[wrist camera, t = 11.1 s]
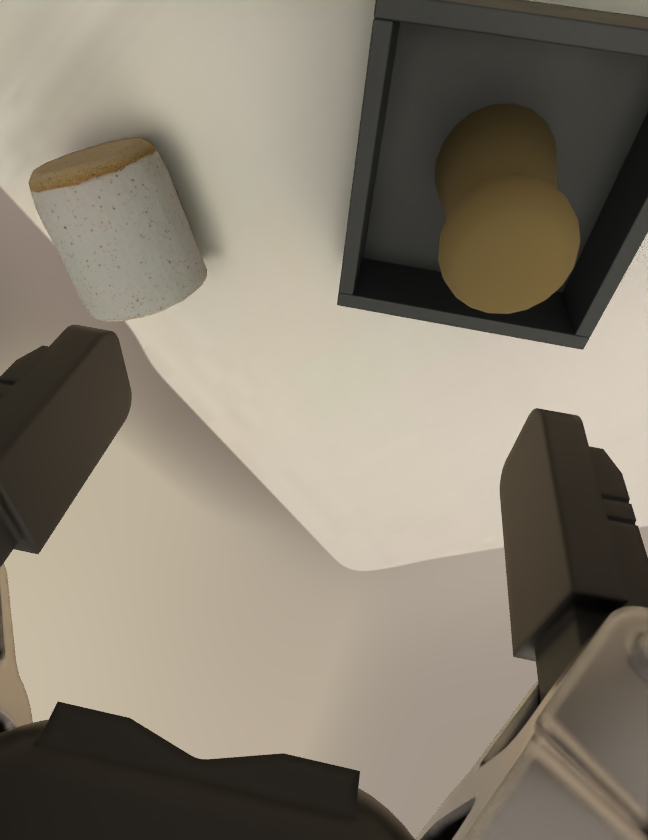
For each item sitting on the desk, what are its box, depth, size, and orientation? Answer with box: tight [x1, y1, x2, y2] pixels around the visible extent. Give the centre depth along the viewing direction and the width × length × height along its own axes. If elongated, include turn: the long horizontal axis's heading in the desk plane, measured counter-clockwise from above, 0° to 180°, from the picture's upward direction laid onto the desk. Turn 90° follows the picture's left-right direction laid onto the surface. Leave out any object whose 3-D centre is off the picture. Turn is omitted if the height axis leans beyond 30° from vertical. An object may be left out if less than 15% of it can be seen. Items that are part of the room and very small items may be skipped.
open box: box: [337, 0, 648, 349], centre depth 25 cm, size 14×14×5 cm
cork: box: [435, 103, 580, 314], centre depth 23 cm, size 6×6×11 cm
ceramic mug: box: [29, 138, 207, 321], centre depth 30 cm, size 11×8×8 cm
